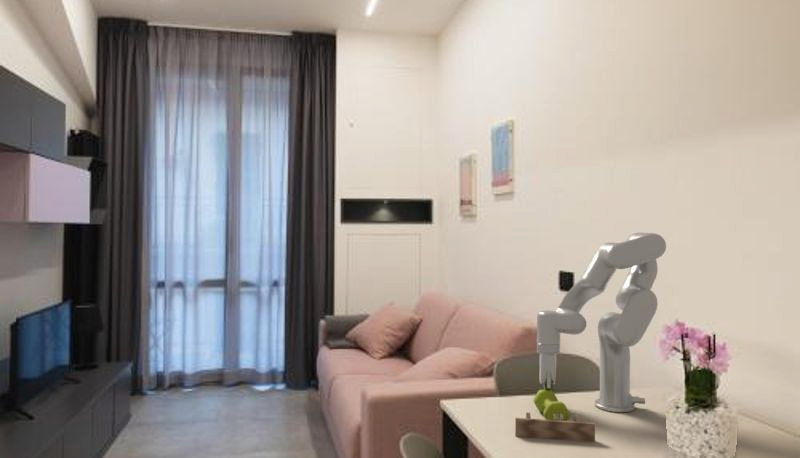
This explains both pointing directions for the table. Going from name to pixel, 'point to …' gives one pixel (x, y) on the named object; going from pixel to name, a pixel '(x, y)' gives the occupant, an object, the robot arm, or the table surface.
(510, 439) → the table surface
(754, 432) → the table surface
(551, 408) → the dumbbell
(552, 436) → the walnut bay
